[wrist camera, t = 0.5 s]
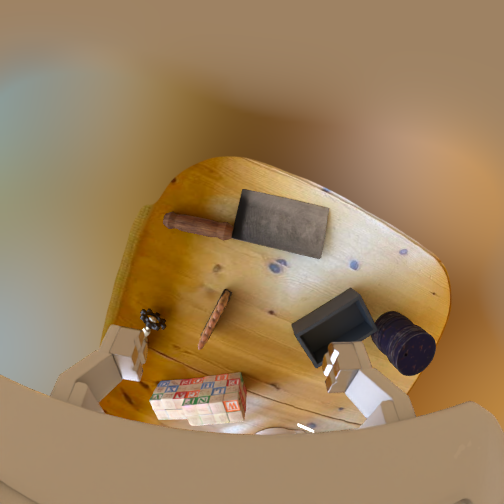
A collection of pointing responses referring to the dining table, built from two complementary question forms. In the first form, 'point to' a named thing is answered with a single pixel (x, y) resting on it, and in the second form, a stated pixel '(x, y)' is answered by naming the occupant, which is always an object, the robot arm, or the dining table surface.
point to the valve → (151, 322)
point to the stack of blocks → (201, 399)
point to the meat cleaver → (265, 224)
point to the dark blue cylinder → (404, 343)
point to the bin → (334, 325)
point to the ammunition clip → (214, 318)
